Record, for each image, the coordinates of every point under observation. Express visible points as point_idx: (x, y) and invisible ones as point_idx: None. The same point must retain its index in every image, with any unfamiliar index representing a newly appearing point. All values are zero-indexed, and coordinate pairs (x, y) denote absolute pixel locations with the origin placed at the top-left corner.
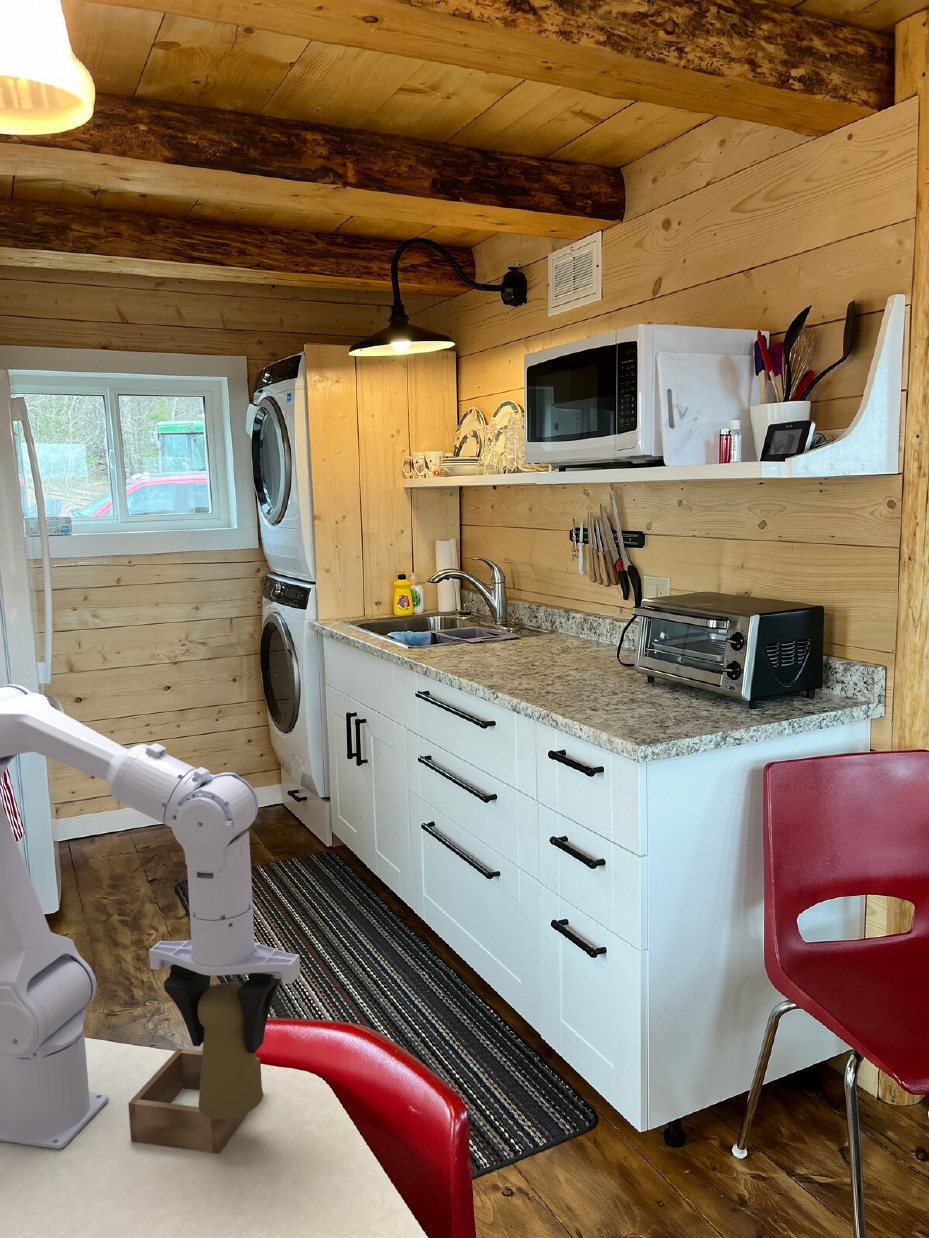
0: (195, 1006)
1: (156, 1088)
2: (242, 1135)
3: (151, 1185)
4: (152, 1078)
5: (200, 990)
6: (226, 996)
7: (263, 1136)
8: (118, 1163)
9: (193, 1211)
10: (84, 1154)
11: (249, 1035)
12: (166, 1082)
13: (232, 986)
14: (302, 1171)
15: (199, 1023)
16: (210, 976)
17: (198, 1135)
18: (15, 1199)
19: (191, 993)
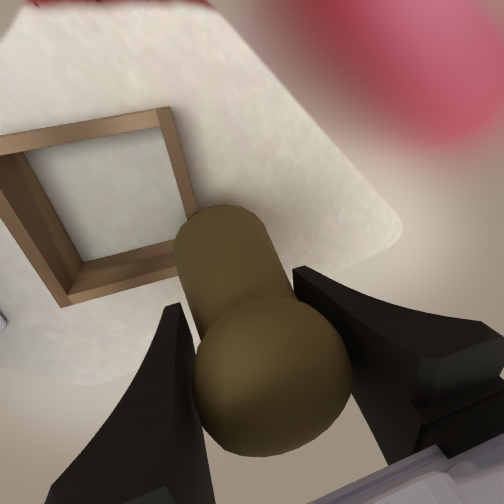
0: (197, 422)
1: (45, 244)
2: (207, 203)
3: (170, 304)
4: (27, 251)
5: (193, 438)
6: (315, 433)
7: (234, 193)
8: (103, 302)
9: None
10: (45, 312)
11: None
12: (31, 212)
13: (306, 406)
14: (306, 221)
15: (191, 365)
16: (172, 410)
17: None
18: (53, 376)
19: (208, 486)
